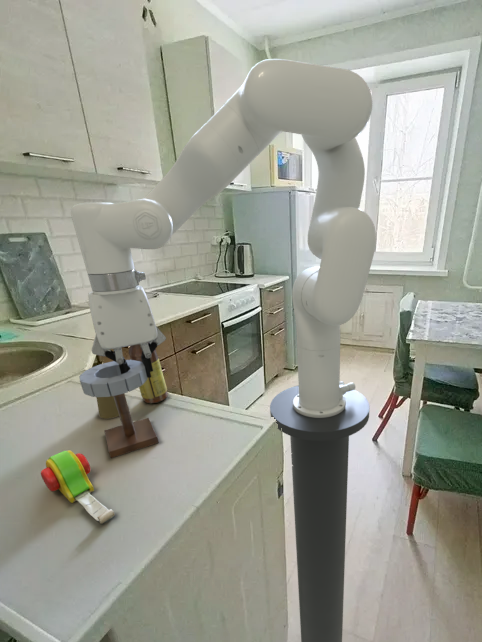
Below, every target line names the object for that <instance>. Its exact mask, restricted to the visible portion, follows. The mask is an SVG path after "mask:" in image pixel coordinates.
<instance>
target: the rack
mask: <svg viewBox="0 0 482 642" xmlns="http://www.w3.org/2000/svg"><path fill="white" fill-rule="evenodd" d="M114 400H115V403H116V406H117V410H118V413H119V416H118V417H119V419H120V423H121V425H118V426H115V427H111V428H108V429H105V430H104V435H105V440H106V444H107V449H108V450H107V451H108V453H109V457H110V459H113V458H116V457H120V456H122V455H125V454H128V453H131V452H134V451H137V450H142V449H145V448H147V447H150V446H153V445H156V444H159V439H158V436H157V433H156V431H155V429H154V426H153V424H152V422H151V419H150V418H149V417H145V418H142V419H139V420H135V421H133V419H132V415H131V411H130V409H129V403H128V400H127V398H126V393H124V394H120V395H116V396H114Z"/></svg>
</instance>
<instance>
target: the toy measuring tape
mask: <svg viewBox="0 0 482 642" xmlns="http://www.w3.org/2000/svg"><path fill="white" fill-rule="evenodd" d="M45 466H46V467H45V468H43V469H42V470H41V471H40V475H41V478H42V480H43V483H44V484H45V486H46V488H47V489H48V490H49V491H50V492H55V491H57V490H59V492H60V493H61V494H62V495H63V496H64V497H65V498H66V499H67V500H68V502H69V503H71V504H73V503H75V502H78V503H79V504H80V505H81V506H82V507H83V508H84V510H85V511H86V513H88V514H89V515H90V516H91V518H93V519H94V520H95V521H96V522H99V524H100V525H103V524H105V523H106V522H107V521H109V520H110V519H112V518H113V517H115V516H116V514H115V511H114V509H111V508H110V509H109V508H108V507H107V506H105V505H104V504H103V503H101V502H100V501H99V500H98V499H97V498H95V496H93V495H92V494H91V493H93V492H95V489H94V486H93V484H92V482H91V481H90V479H89V477H88V474H90V473H91V471H92V469H91V465H90V462H89V460H88V459H87V457H86V456H85V455H84V454H83V453H81V452H79V453H76V454H75V453H74V452H73V451H72V450H70V449H68V450H62V451H61V452H59V453H56V454H53V455H51V456H49V457H48V458H47V459H46V460H45Z"/></svg>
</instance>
